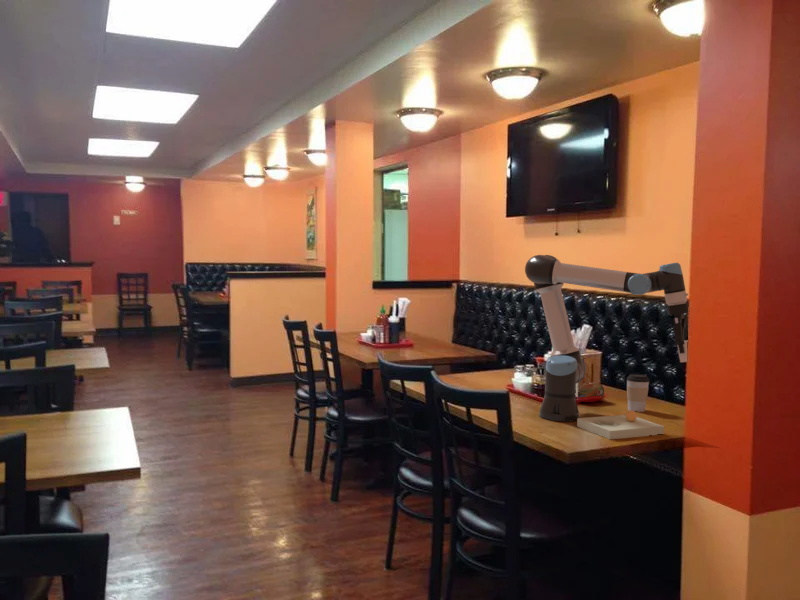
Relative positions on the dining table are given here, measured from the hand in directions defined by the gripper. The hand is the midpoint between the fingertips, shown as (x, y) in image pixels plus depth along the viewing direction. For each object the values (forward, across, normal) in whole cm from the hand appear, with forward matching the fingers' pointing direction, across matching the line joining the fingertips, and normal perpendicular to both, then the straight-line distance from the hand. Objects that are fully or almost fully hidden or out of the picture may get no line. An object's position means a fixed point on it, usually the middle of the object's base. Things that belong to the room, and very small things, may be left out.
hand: (687, 359), depth 246 cm
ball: (+16, -19, +19) cm, 32 cm away
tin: (+16, +17, +47) cm, 52 cm away
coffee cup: (+21, +15, +27) cm, 37 cm away
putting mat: (+20, -24, +23) cm, 39 cm away
